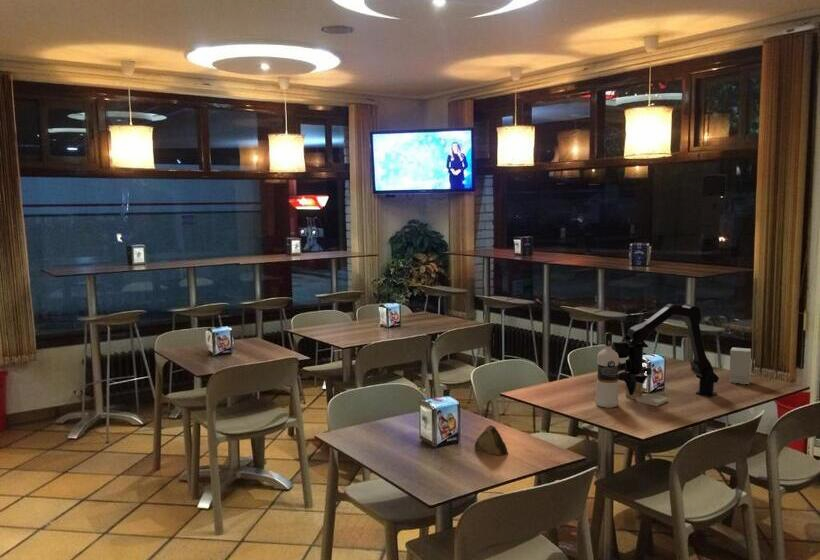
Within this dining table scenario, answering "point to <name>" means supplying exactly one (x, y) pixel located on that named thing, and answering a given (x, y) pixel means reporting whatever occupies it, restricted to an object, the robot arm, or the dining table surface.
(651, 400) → the trivet
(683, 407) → the dining table surface
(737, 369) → the skincare box
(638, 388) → the oak block
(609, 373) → the vodka
